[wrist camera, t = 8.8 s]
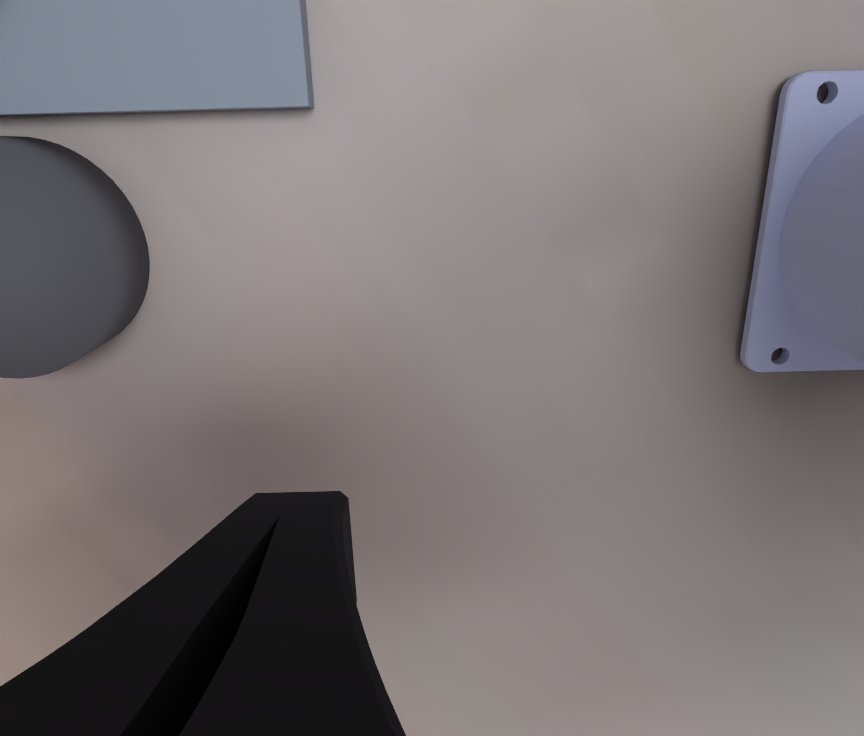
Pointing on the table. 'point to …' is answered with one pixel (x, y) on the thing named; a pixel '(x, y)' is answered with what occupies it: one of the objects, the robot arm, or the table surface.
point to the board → (152, 56)
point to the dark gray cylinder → (63, 257)
